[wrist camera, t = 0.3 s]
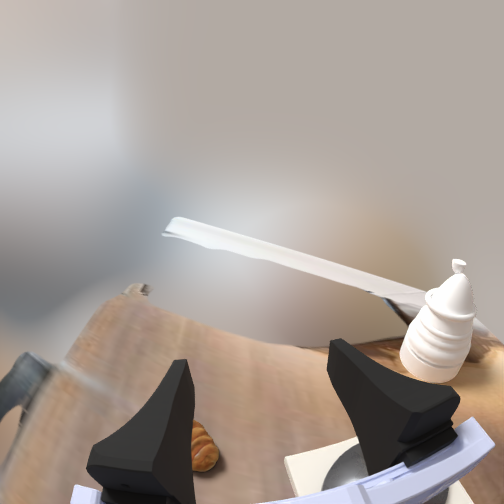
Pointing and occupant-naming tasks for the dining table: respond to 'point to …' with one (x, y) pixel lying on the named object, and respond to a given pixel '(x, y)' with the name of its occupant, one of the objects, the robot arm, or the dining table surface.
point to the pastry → (202, 449)
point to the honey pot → (441, 330)
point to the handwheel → (359, 473)
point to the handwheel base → (321, 460)
